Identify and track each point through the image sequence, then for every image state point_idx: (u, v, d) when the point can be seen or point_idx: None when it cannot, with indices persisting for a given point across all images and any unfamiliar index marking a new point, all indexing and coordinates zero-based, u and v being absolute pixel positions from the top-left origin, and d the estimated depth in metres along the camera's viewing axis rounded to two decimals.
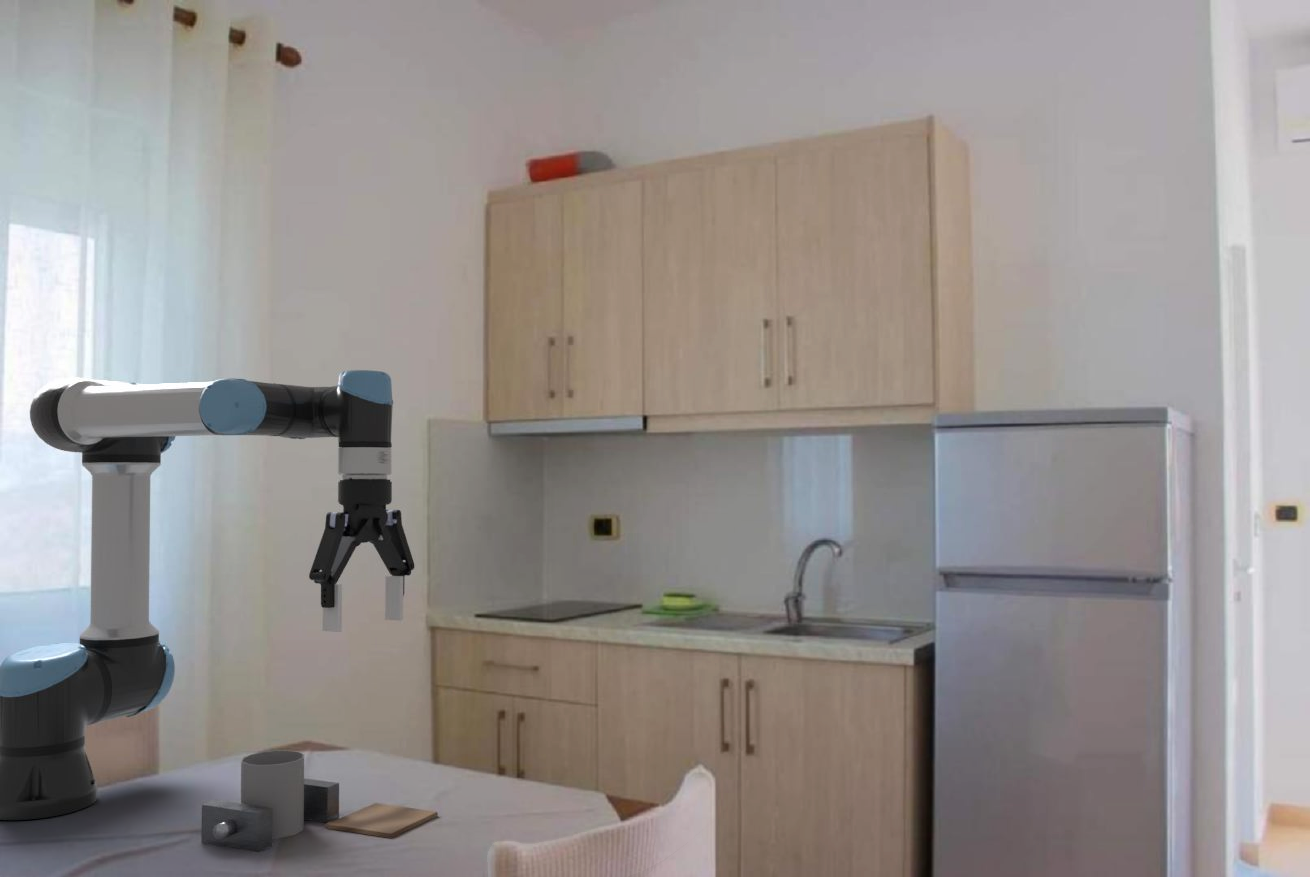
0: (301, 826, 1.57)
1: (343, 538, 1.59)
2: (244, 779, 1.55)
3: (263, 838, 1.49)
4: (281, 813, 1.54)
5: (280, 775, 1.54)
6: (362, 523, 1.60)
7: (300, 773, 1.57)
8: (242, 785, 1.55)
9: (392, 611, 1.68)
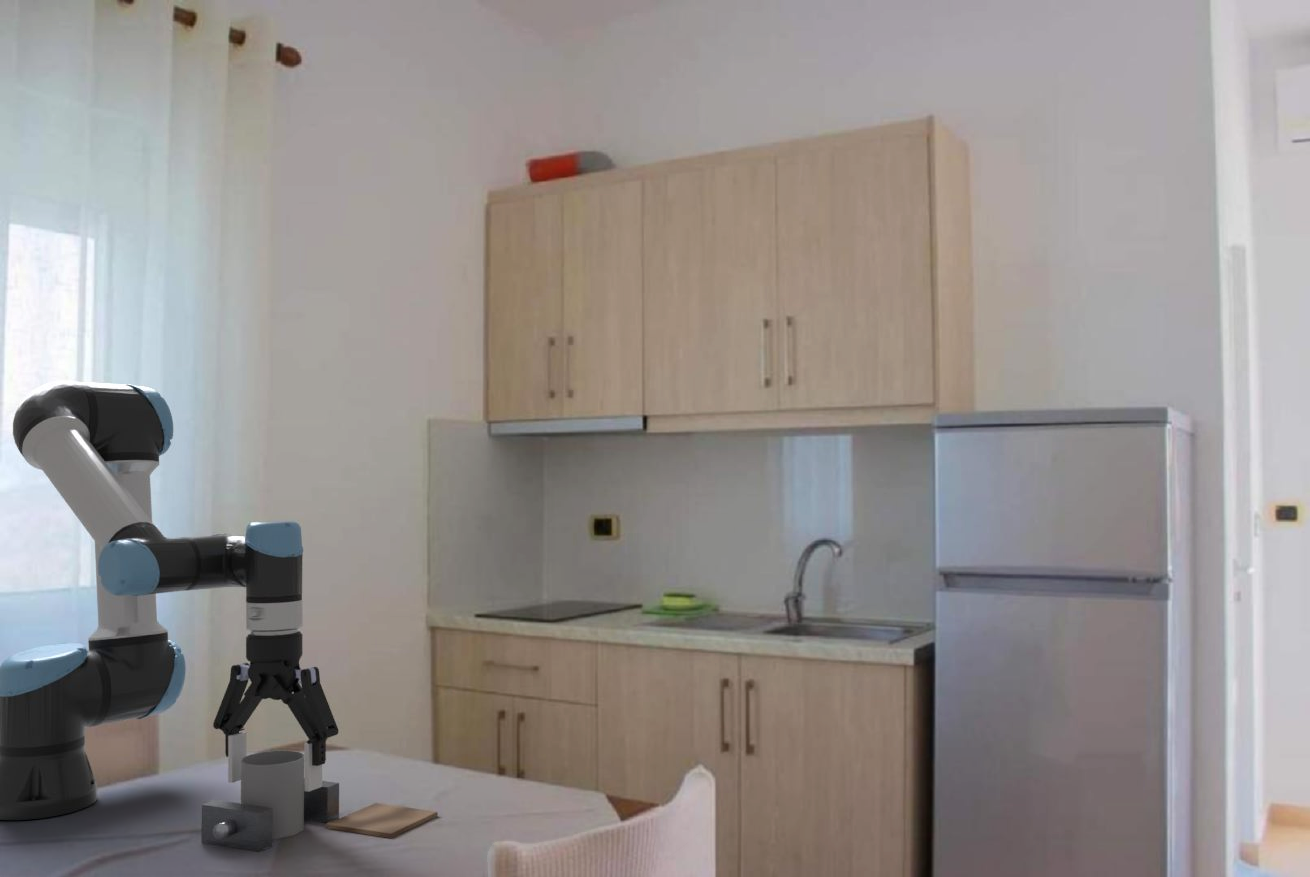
0: (301, 826, 1.57)
1: None
2: (244, 779, 1.55)
3: (263, 838, 1.49)
4: (281, 813, 1.54)
5: (280, 775, 1.54)
6: None
7: (300, 773, 1.57)
8: (242, 785, 1.55)
9: None
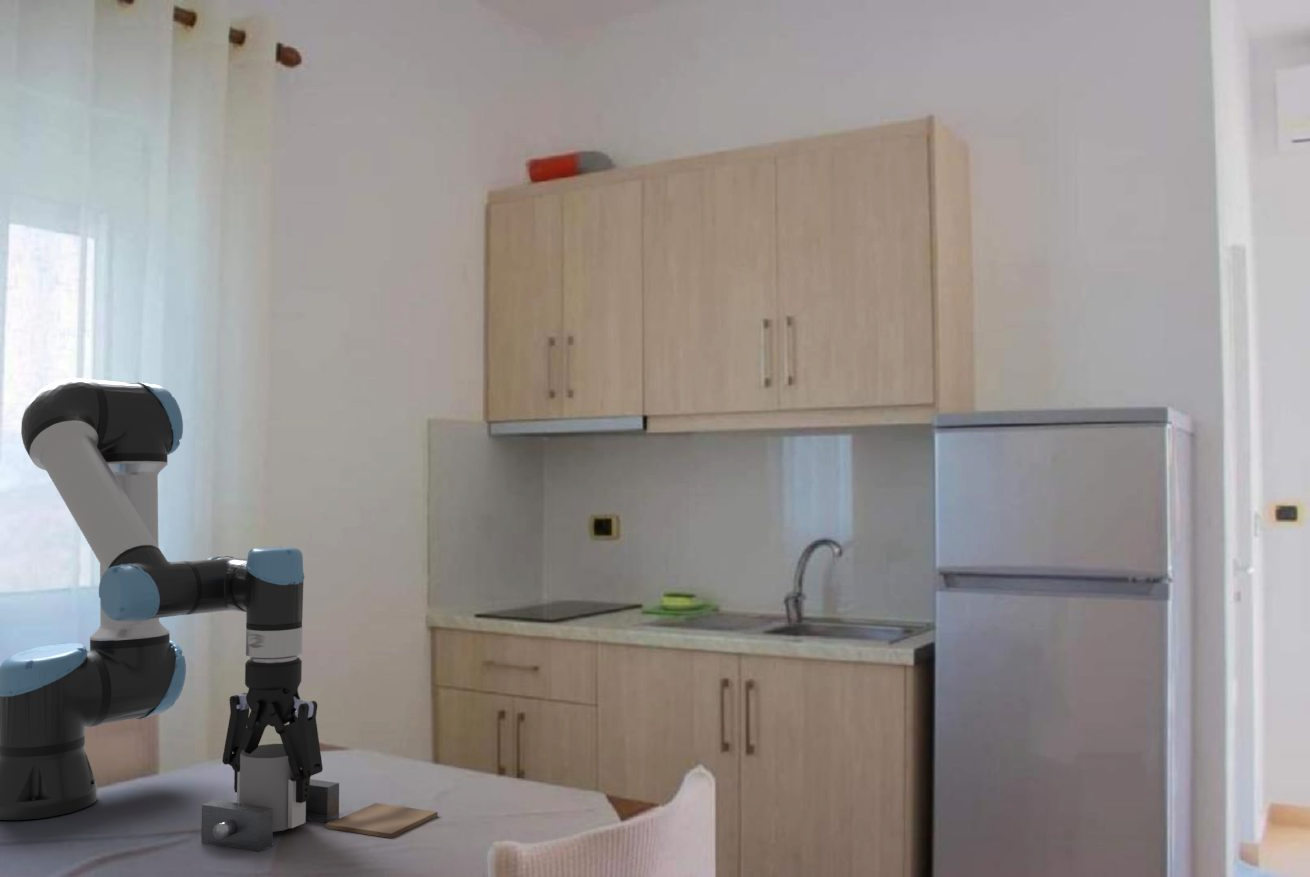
0: None
1: None
2: (243, 772, 1.55)
3: (263, 838, 1.49)
4: (280, 806, 1.54)
5: (279, 768, 1.54)
6: None
7: None
8: (241, 778, 1.55)
9: None
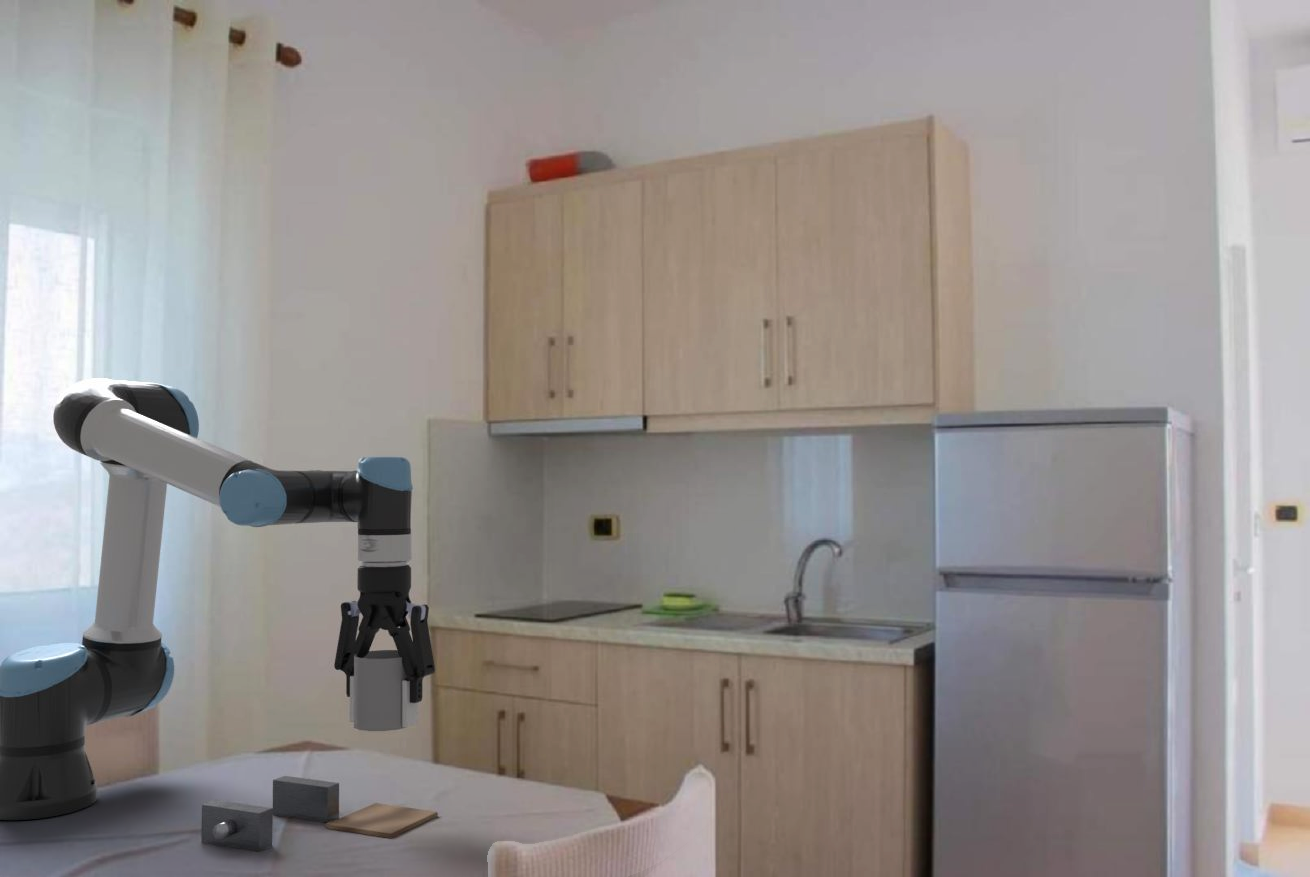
0: None
1: None
2: (357, 674, 1.59)
3: (263, 838, 1.49)
4: (394, 706, 1.58)
5: (393, 669, 1.58)
6: None
7: None
8: (355, 679, 1.59)
9: None
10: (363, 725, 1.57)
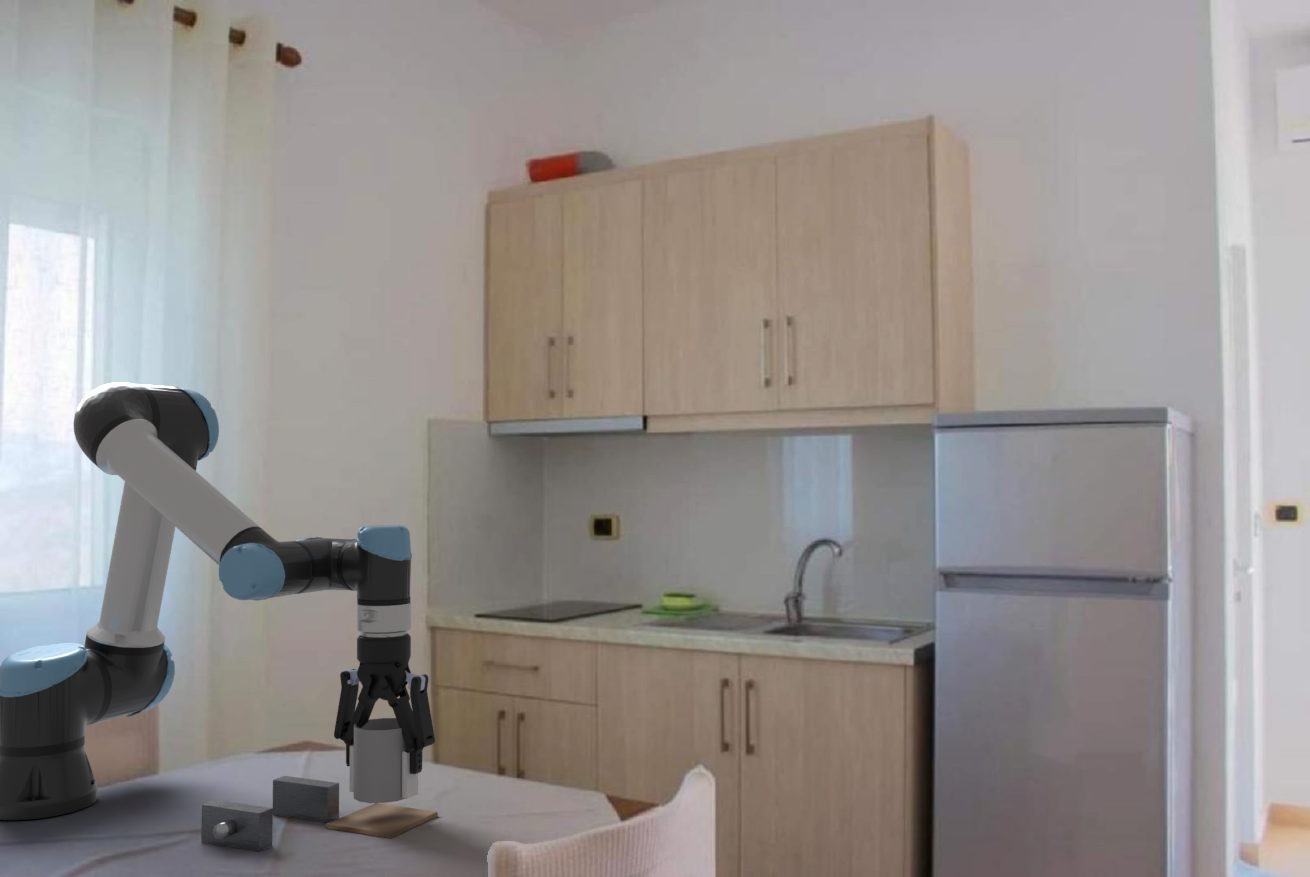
0: None
1: None
2: (357, 745, 1.58)
3: (263, 838, 1.49)
4: (394, 777, 1.58)
5: (393, 740, 1.58)
6: None
7: None
8: (355, 750, 1.59)
9: None
10: (363, 797, 1.57)
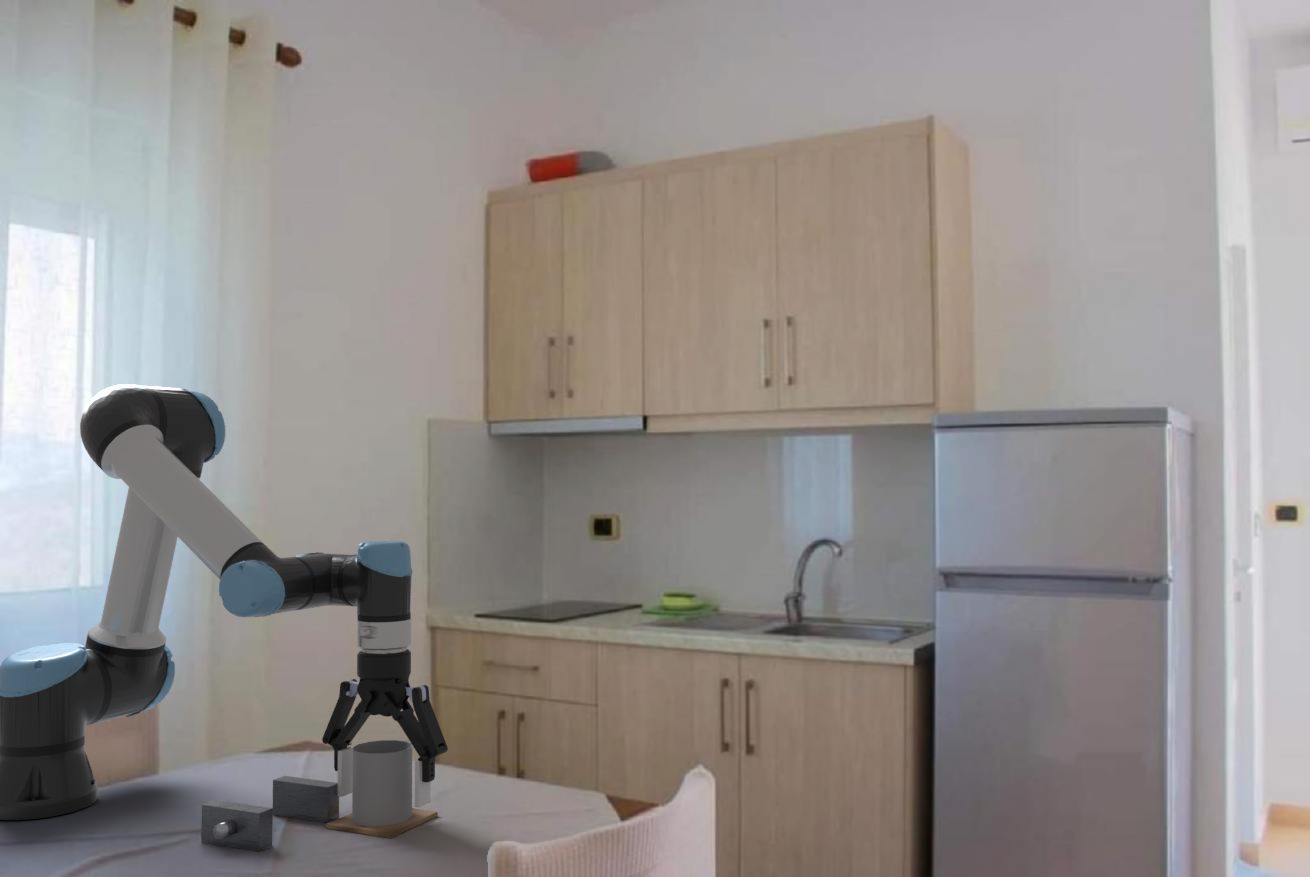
0: (410, 813, 1.60)
1: None
2: (356, 768, 1.58)
3: (263, 838, 1.49)
4: (393, 801, 1.58)
5: (392, 763, 1.58)
6: None
7: (409, 762, 1.60)
8: (354, 773, 1.59)
9: None
10: (362, 820, 1.57)
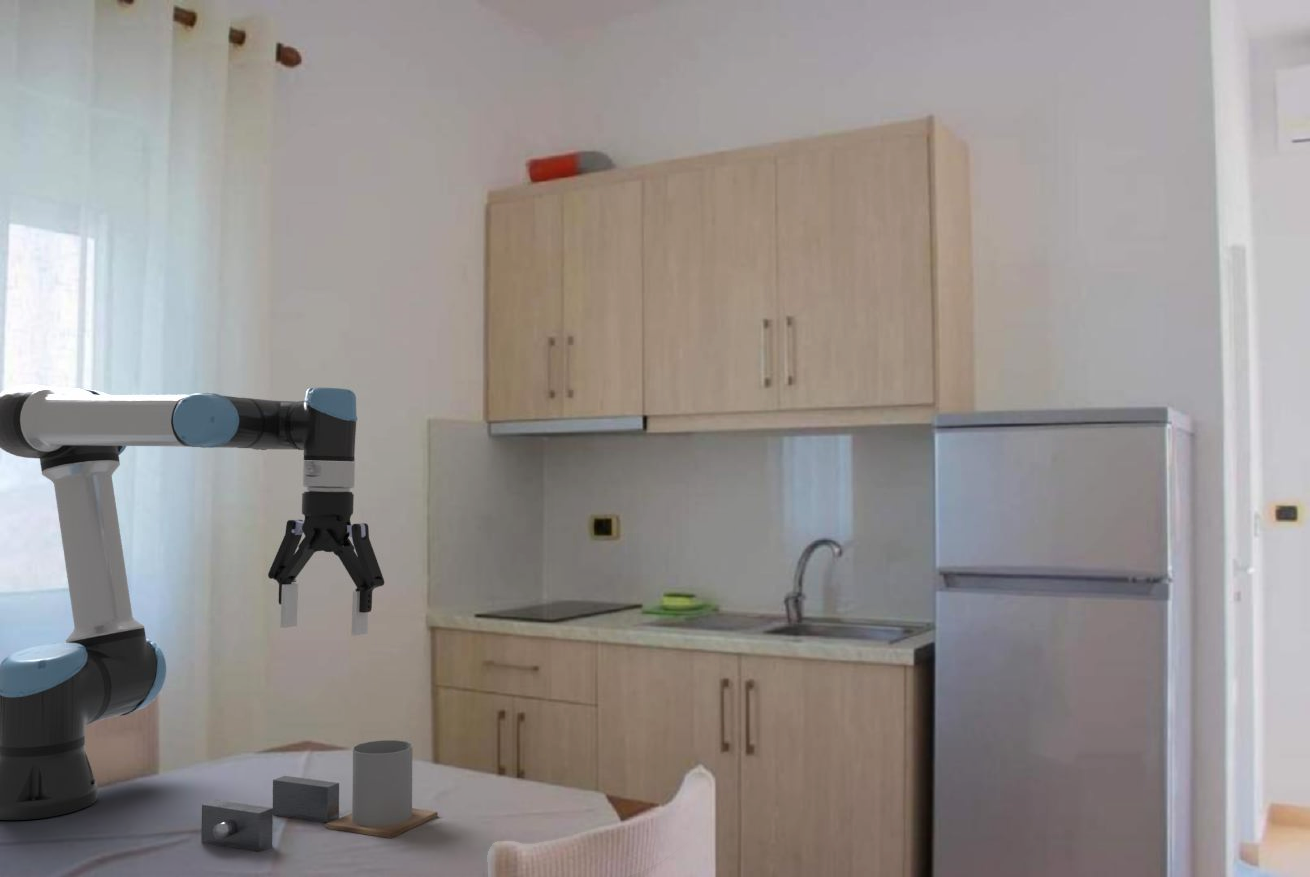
0: (410, 814, 1.60)
1: (308, 545, 1.73)
2: (356, 768, 1.58)
3: (263, 838, 1.49)
4: (393, 801, 1.58)
5: (392, 764, 1.58)
6: None
7: (410, 762, 1.60)
8: (354, 773, 1.59)
9: None
10: (362, 820, 1.57)
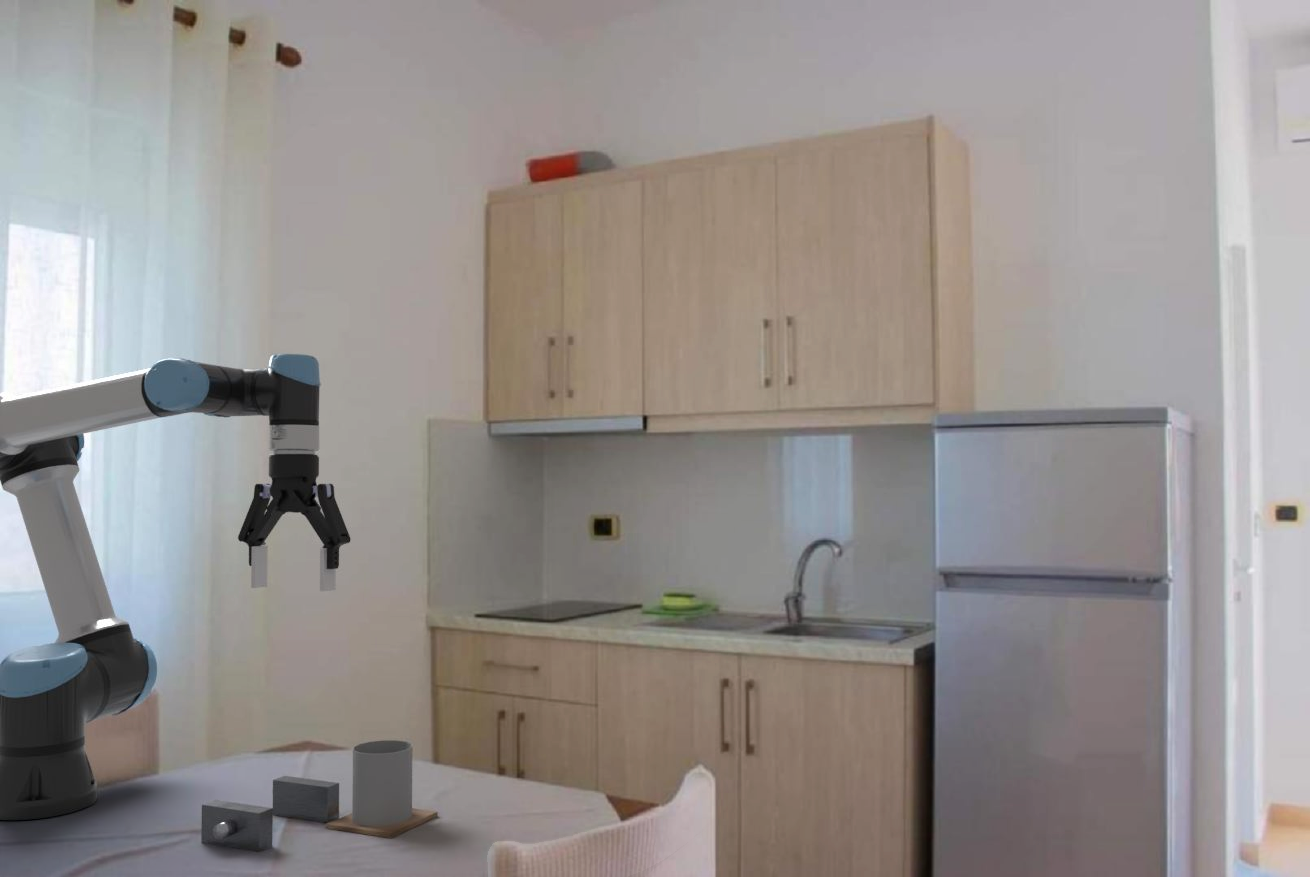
0: (410, 814, 1.60)
1: (276, 507, 1.79)
2: (356, 768, 1.58)
3: (263, 838, 1.49)
4: (393, 801, 1.58)
5: (392, 764, 1.58)
6: None
7: (410, 762, 1.60)
8: (354, 773, 1.59)
9: None
10: (362, 820, 1.57)
